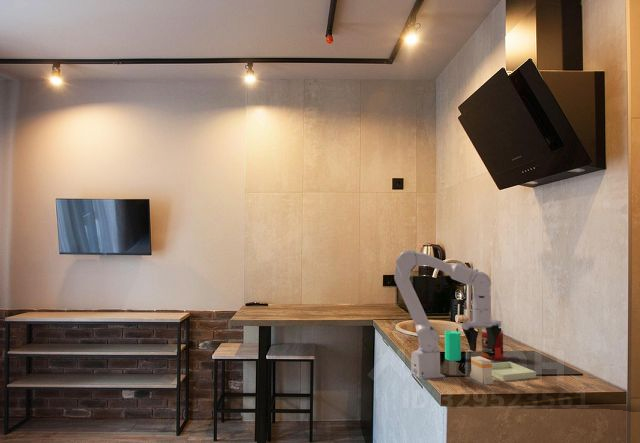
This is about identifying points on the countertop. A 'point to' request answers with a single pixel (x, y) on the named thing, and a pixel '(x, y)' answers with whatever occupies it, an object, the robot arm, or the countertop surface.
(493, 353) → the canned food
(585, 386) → the countertop surface
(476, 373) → the block
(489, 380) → the fuse holder
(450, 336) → the candle
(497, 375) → the tray
